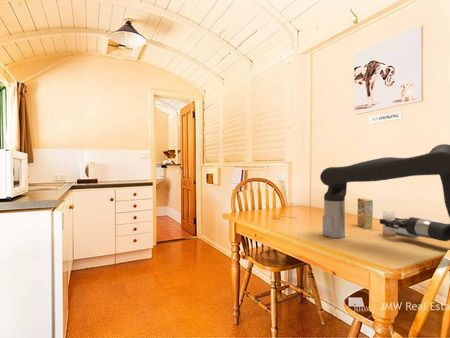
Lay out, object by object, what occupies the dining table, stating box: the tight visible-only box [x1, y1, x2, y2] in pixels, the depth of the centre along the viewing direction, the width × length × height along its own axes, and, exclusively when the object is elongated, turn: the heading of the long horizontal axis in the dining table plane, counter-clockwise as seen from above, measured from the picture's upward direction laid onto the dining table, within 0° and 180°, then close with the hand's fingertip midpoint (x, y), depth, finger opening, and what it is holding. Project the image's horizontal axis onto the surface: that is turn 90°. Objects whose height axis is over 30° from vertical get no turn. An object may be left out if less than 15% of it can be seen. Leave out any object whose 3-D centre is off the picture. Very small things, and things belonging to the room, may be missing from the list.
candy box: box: [357, 197, 374, 230], centre depth 145 cm, size 9×4×15 cm, turn 0°
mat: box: [395, 228, 419, 239], centre depth 132 cm, size 16×14×1 cm
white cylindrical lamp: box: [382, 209, 396, 238], centre depth 128 cm, size 5×5×12 cm
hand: (386, 220), depth 129 cm, fingers open, 8 cm apart
